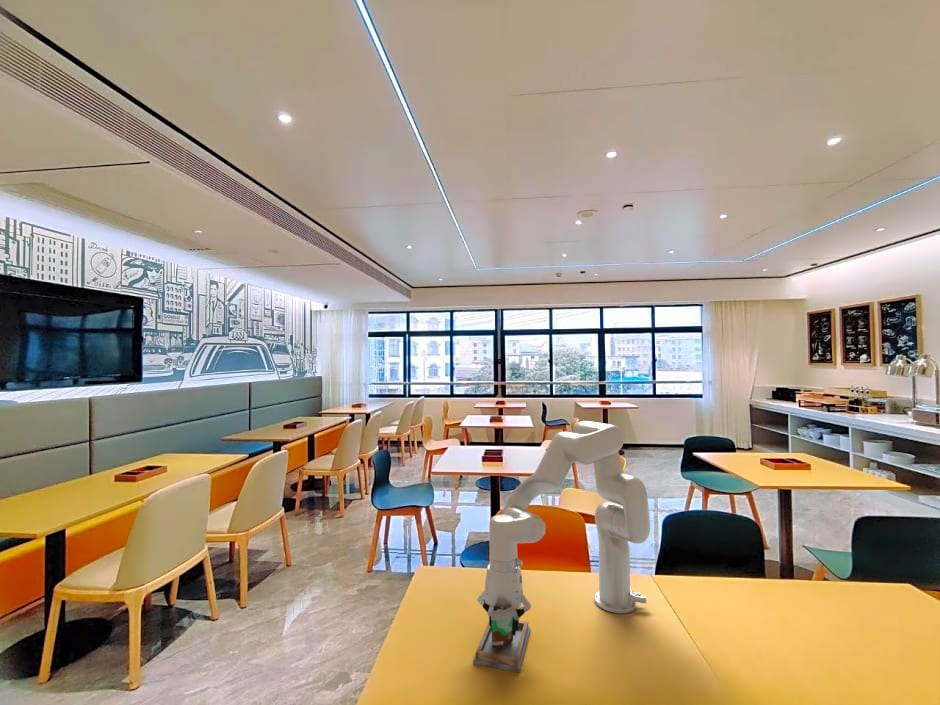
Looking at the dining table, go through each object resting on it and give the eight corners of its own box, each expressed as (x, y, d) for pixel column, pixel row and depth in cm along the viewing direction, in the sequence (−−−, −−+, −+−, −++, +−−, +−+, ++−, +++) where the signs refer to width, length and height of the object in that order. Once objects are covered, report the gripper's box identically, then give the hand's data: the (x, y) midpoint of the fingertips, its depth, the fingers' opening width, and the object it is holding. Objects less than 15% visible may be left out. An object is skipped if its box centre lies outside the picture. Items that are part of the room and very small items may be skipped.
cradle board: (530, 630, 123) (530, 621, 123) (519, 672, 106) (519, 662, 106) (489, 623, 127) (489, 614, 127) (473, 663, 109) (473, 653, 109)
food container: (514, 654, 110) (514, 614, 110) (491, 651, 111) (490, 612, 111) (519, 626, 122) (519, 590, 122) (498, 623, 123) (498, 587, 123)
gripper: (536, 560, 118) (537, 627, 118) (476, 553, 123) (477, 617, 123) (532, 573, 111) (533, 644, 111) (469, 564, 116) (470, 633, 115)
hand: (504, 629), depth 117 cm, fingers closed on food container, 5 cm apart
